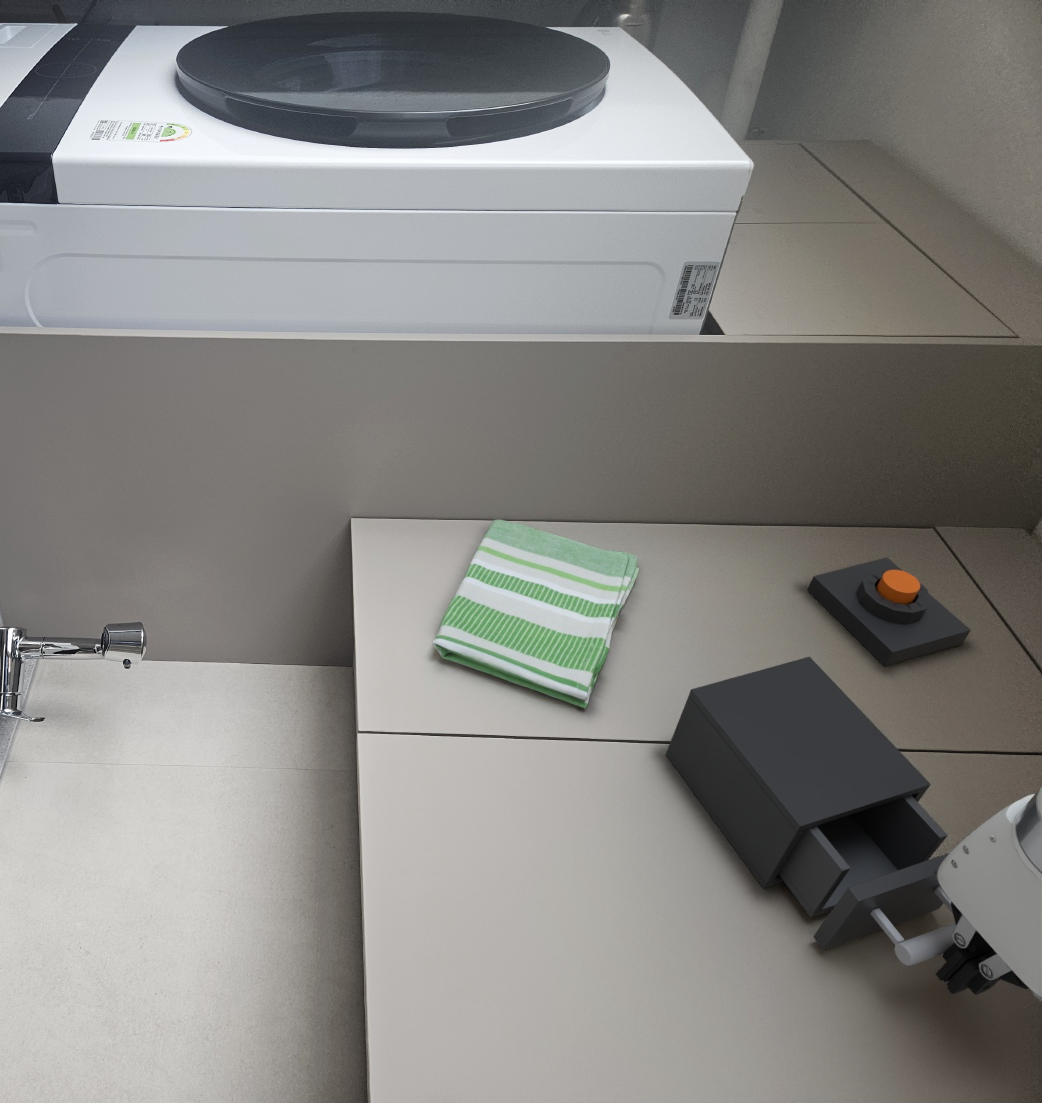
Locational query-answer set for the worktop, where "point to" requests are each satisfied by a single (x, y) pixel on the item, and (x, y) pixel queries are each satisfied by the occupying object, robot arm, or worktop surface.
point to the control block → (886, 614)
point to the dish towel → (537, 610)
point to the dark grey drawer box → (784, 760)
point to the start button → (898, 586)
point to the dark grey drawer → (872, 877)
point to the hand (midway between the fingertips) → (959, 978)
